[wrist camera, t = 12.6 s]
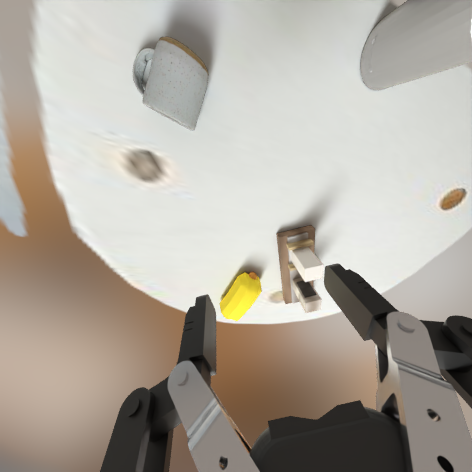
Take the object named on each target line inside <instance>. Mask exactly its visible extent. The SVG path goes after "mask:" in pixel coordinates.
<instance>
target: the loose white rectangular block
mask: <svg viewBox="0 0 472 472" xmlns="http://www.w3.org/2000/svg"><path fill="white" fill-rule="evenodd" d="M290 253H291V261H292V262H293V264H294V266H295V267H296V269H297V270H298V272H299V274H300V275H301V277H302V278H303V280H304V281H305V282H308V281H312V280H316V279H321V278H323V263H322V262H321V261H320V260H319V259H318V258H317V257H316V255H315V254H314V253H313V252H312V251H311V250H310V249H309V247H308V246H306V247H302V248H298V249H294V250H290Z"/></svg>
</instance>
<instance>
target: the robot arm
mask: <svg viewBox="0 0 472 472" xmlns="http://www.w3.org/2000/svg"><path fill="white" fill-rule="evenodd" d="M470 62H472V0H407V1H406V2H405V3H404V4H402V5H401V6H399V7H398V8H397V9H395V10H394V11H392V12H391V13H390V14H388V15H387V16H386V17H385V18H383V19H382V20H381V21H380V22H379V23H378V24H377V25H376V27H375V28H374V29H373V31H372V32H371V34H370V35H369V37H368V39H367V42H366V44H365V46H364V49H363V52H362V57H361V68H360V69H361V76H362V79H363V82H364V83H365V85H366V86H367V87H369V88H370V89H372V90H382V89H386V88H389V87H392V86H396V85H399V84H402V83H406V82H409V81H412V80H415V79H419V78H422V77H425V76H428V75H432V74H435V73H438V72H441V71H445V70H448V69H451V68H454V67H458V66H461V65H464V64H467V63H470ZM324 285H325V288H326V290H327V291H328V293H329V294H330V296H331V297H332V298H333V300H334V301H335V302H336V304H337V305H338V306H339V308H340V309H341V310H342V312H343V313H344V314H345V316H346V317H347V318H348V320H349V321H350V322H351V324H352V325H353V326H354V328H355V329H356V330H357V332H358V333H359V334H360V336H361V337H362V338H363V340H364V341H366V340H370V339H372V340H373V341H374V343H375V344H376V345H375V353H376V368H377V393H376V410H374V409H370V408H367V407H363V405H362V403H361V401H360V400H359V401H355V402H350V403H346V404H341V405H337V406H336V407H334V408H333V409H332V410H330V411H329V412H328V413H326V414H325V415H323V416H322V417H321V418H319V419H318V420H313V419H306V418H299V417H293V416H289V417H285V418H280V419H275V420H271V421H268V424H269V427H268V428H267V429H266V430H264V431H263V432H262V433H261V435H260V436H259V437H258V438H257V440H256V441H255V443H254V445H253V447H252V449H251V448H250V446H249V444H248V443H247V442H246V440H245V438H244V437H243V435H242V434H241V432H240V431H239V429H238V428H237V426H236V425H235V423H234V422H233V420H232V419H231V418H230V416H229V414H228V413H227V411H226V410H225V408H224V407H223V405H222V403H221V402H220V400H219V399H218V397H217V396H216V394H215V392H214V391H213V389H212V388H211V386H210V383H211V380H210V379H211V376H212V375H216V312H215V308H214V306H213V304H212V302H211V299H210V297H209V295H208V294H207V295H203V296H199V297H197V298H196V303H195V306H193V307H190V308H189V310H188V312H187V314H186V317H185V325H184V329H183V335H182V341H181V347H180V353H179V358H178V362H177V365H176V366H175V368H174V369H173V370H172V372H171V374H170V375H169V376H168V377H167V378H166V379H165V380H163V381H162V382H160V383H159V384H157V385H156V386H154V387H152V388H151V389H149V390H148V389H146V388H138V389H136V390H134V391H133V392H132V393H131V394H130V395H129V396H128V397H127V398H126V400H125V401H124V403H123V404H122V406H121V408H120V411H119V414H118V417H117V420H116V423H115V426H114V429H113V433H112V436H111V439H110V442H109V445H108V449H107V451H106V455H105V458H104V461H103V464H102V467H101V470H100V472H169V466H170V457H171V447H172V438H173V429H174V428H175V427H176V426H178V425H179V424H180V423H183V426H184V428H185V430H186V433H187V436H188V446H189V450H190V452H191V455H192V457H193V460H194V462H195V464H196V467H197V469H198V472H472V439H471V436H470V433H469V430H468V427H467V424H466V421H465V418H464V415H463V412H462V409H461V406H460V403H459V400H458V397H457V394H456V392H455V390H456V391H457V393H458V394H459V395H460V396H461V397H462V398H463V399H464V400H465V401H466V403H468V405H469V406H470V407H471V408H472V319H471V318H467V317H463V316H450V317H448V318H447V320H446V321H445V322H435V321H423V320H418V319H417V318H415V317H414V316H412V315H409V314H407V313H404V312H399V311H398V310H397V309H395V308H394V307H393V306H392V305H391V304H390V303H389V302H388V301H387V300H386V299H384V298H383V297H382V296H381V295H380V294H379V293H378V292H377V291H376V290H375V289H374V288H372V287H371V285H370V284H368V283H367V282H366V281H365V280H364V279H363V278H362V277H361V276H360V275H359V274H357V273H355V272H353V271H351V270H350V269H349V270H345V269H344V268H343V267H342V266H341V265H340V264H333V265H329V266H326V267H325V276H324ZM441 375H442V376H443V377H444V378H445V379H446V380H447V381H445V380H444V379H443V378H442V376H441ZM454 389H455V390H454Z"/></svg>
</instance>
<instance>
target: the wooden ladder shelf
mask: <svg viewBox="0 0 472 472" xmlns="http://www.w3.org/2000/svg"><path fill="white" fill-rule="evenodd" d="M277 243H278V252H279V261H280V270H281V280H282V289H283V298H284V301H285V303H286V304H288V303H296V302H300V303H301V305H302V307H303V309H304V311H305V313H308V312H312V311H316V310H321V301H322V299H321V298H320V296H319V295H318V293H317V292H316V290H315V289H314V287H313V280H312V281H308V282H305V281H304V280H303V278H302V277H301V275H300V274H299V272H298V270H297V269H296V267H295V266H294V264H293V262H292V261H291V253H290V250H294V249H298V248H302V247H306V246H308V247H309V249H310V250H311V251H312V252H313V253H314V245H315V228H314V227H313V226H311V225H309V226H305V227H301V228H297V229H293V230H289V231H285V232H281V233H277Z"/></svg>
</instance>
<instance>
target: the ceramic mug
mask: <svg viewBox="0 0 472 472" xmlns="http://www.w3.org/2000/svg"><path fill="white" fill-rule="evenodd" d="M150 59H152V64H151V69H150V73H149V76H148V80H147V84H146V88H145V91H144V89H143V86H142V76H143V72H144V69H145V66H146V64H147V61H148V60H150ZM133 80H134V83H135V85H136V87H137V89H138V91H139V92H140V93H141V94H142V95H143V104H144V105H146V106H147V107H149V108H151V109H152V110H154V111H156V112H158V113H160V114H161V115H163V116H165V117H167V118H169V119H170V120H172V121H174V122H176V123H178V124H179V125H182V126H183V127H185V128H187V129H189V130H192V131H194V130H195V127H196V123H197V120H198V116H199V113H200V109H201V106H202V102H203V99H204V95H205V92H206V89H207V83H208V71H207V68H206V66H205V64H204V63H203V62H202V60H201V59H200V58H199V57H198V56H197V55H196V54H195V53H194V52H193V51H192V50H190V49H189V48H188V47H186V46H185V45H184V44H182V43H180V42H179V41H177V40H175V39H173V38H171V37H161V38H160V39H159V41H158V43H157V45H156V47H155V49H152V48H145V49H143V50H142V51H140V52H139V53H138V55H137V57H136V59H135V61H134V65H133Z"/></svg>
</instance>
